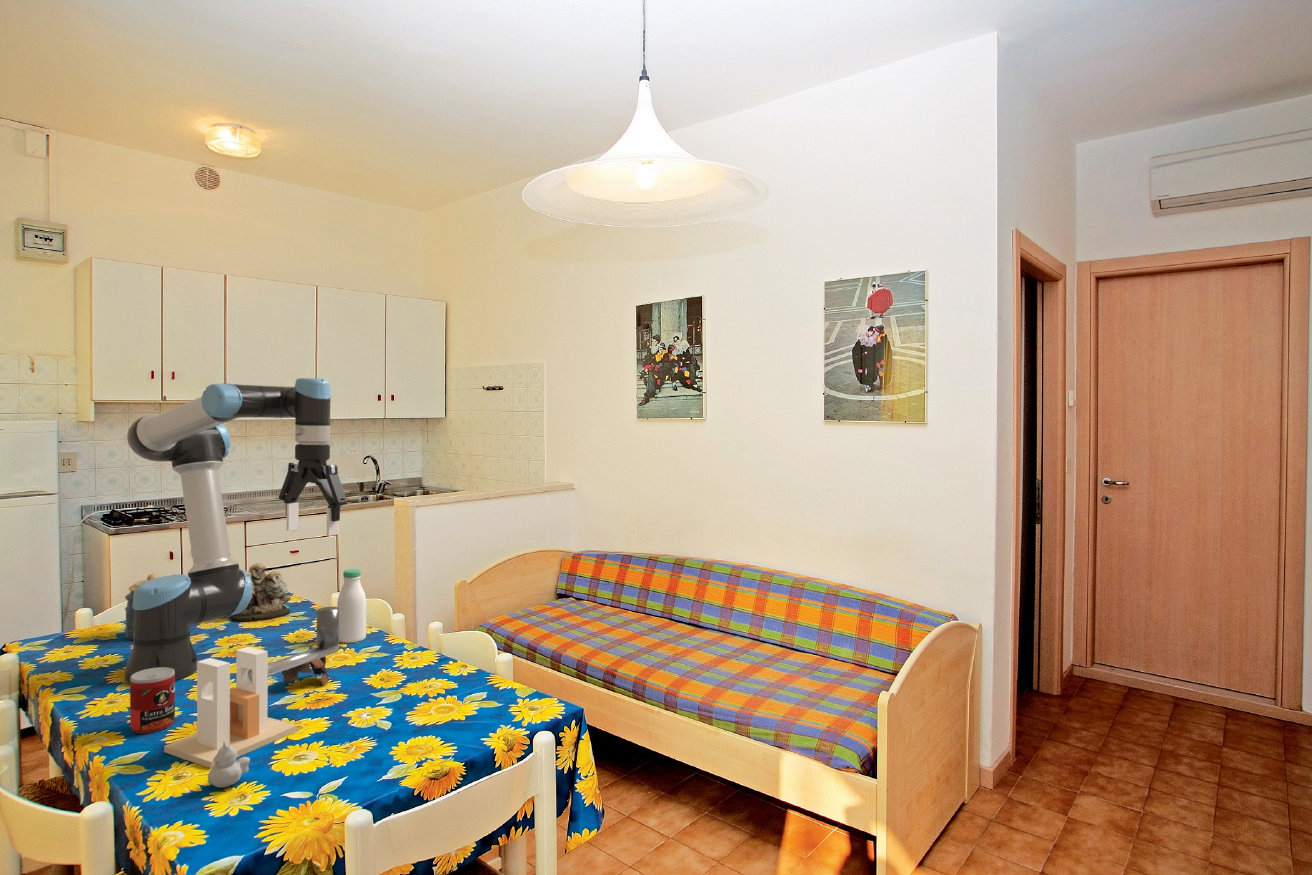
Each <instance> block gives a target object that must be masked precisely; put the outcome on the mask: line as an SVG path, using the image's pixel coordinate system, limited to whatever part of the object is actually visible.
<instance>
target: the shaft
mask: <svg viewBox="0 0 1312 875" xmlns="http://www.w3.org/2000/svg"><path fill="white" fill-rule="evenodd" d="M339 644H340V642H339V608H338V607H337V606H323V607H319V608H317V609H316V647H314V648H312V649H309V650H305V651H302V652H299V653H297V654H292V655H291V656H287V657H284V658H281V659H278V660H275V661H272V662H269V663H268V677H269V676H271V675H275V674H277V673H281V672H282V671H284V670H288V669H290V668H293V667H296V666H298V665H301V664H304V663H307V662H310V661H313V660H316V659H319V658H322V657H325V656H326V657H327V656H331V655H334V654H337V653H338V652H339V649H340V646H339ZM248 678H249V680H250V681H252V670H251V669H250V670H249V671H248Z"/></svg>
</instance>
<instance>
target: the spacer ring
mask: <svg viewBox="0 0 1312 875" xmlns="http://www.w3.org/2000/svg"><path fill="white" fill-rule="evenodd" d="M238 704H241V705H243V722H241V721H238ZM230 734H232V735H235V736H239V737H242V738H245V739H249V738H252V737H254V736H257V735H259V694H255V693H251V692H248V691H244V690H240V689H237V688H236V687H230Z"/></svg>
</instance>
